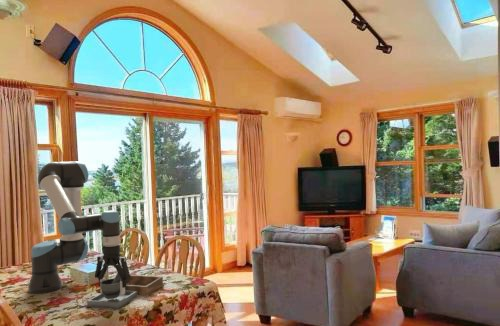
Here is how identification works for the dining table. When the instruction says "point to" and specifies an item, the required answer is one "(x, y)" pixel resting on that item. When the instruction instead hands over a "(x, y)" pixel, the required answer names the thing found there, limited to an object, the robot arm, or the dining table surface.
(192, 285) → the dining table surface
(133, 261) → the dining table surface
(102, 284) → the mortar and pestle
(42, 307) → the dining table surface
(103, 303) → the tray
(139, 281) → the tray
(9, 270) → the dining table surface
